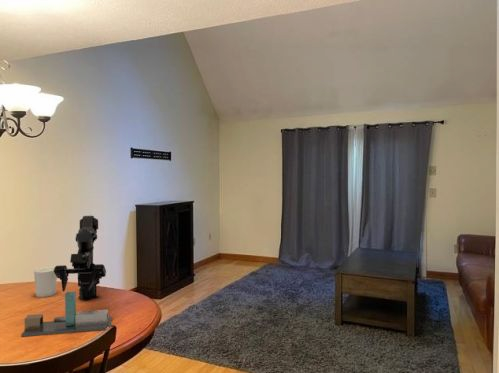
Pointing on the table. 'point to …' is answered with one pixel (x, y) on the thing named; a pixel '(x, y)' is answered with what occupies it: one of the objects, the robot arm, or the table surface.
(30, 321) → the sleeve and socket
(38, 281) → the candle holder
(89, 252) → the robot arm
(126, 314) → the table surface
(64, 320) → the sliding bolt with handle
